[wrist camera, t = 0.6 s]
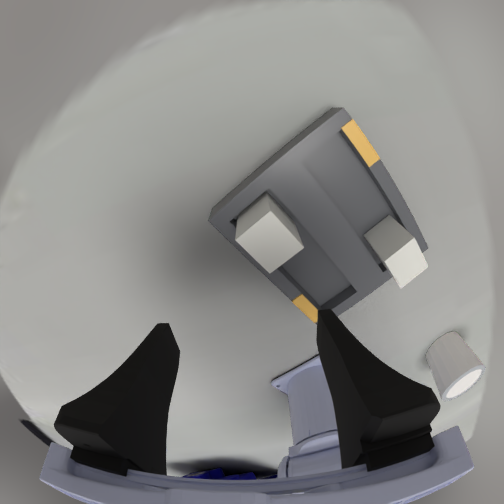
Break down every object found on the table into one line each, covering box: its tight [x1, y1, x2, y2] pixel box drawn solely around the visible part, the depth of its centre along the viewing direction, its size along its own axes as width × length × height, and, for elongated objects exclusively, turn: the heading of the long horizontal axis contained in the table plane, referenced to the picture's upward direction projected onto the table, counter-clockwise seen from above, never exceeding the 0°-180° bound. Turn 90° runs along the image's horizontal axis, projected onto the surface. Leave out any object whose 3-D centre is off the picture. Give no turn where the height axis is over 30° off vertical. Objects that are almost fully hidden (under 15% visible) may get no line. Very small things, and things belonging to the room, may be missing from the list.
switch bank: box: [208, 108, 428, 324], centre depth 20 cm, size 13×11×2 cm
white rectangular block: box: [364, 215, 428, 288], centre depth 19 cm, size 3×3×4 cm
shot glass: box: [426, 332, 486, 401], centre depth 26 cm, size 7×7×7 cm
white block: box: [235, 191, 304, 273], centre depth 18 cm, size 3×3×4 cm
